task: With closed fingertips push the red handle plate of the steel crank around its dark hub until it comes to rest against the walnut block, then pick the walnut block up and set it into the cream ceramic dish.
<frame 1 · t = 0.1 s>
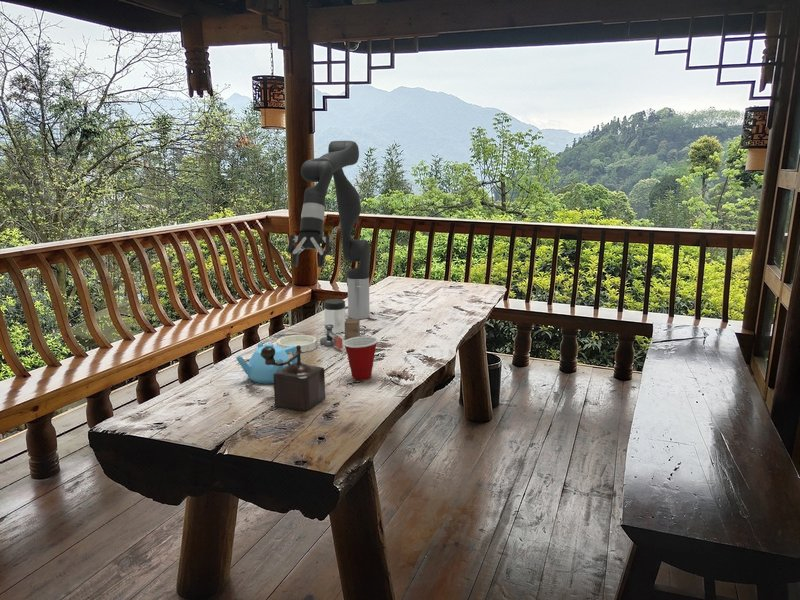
hand: (307, 266, 196), 31 cm above the table, tool tilted 20°, fingers open, 8 cm apart
coffee grinder: (294, 406, 163), on the table
crank: (335, 340, 213), point 3 cm above the table, hinge at 0.0°
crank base: (329, 343, 219), on the table
dish: (297, 347, 215), on the table
teapot: (269, 378, 185), on the table
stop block: (352, 338, 225), on the table
jar: (335, 331, 236), on the table
plastic cup: (361, 377, 184), on the table
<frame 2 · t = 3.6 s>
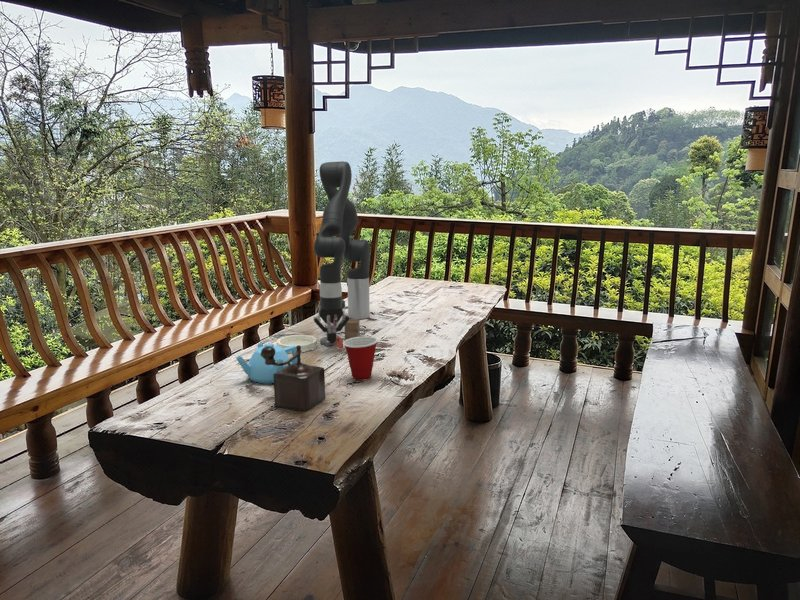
hand: (331, 342, 210), 3 cm above the table, tool pointing down, fingers closed
crank: (336, 340, 213), point 3 cm above the table, hinge at 1.4°, touching gripper
everything else where it was.
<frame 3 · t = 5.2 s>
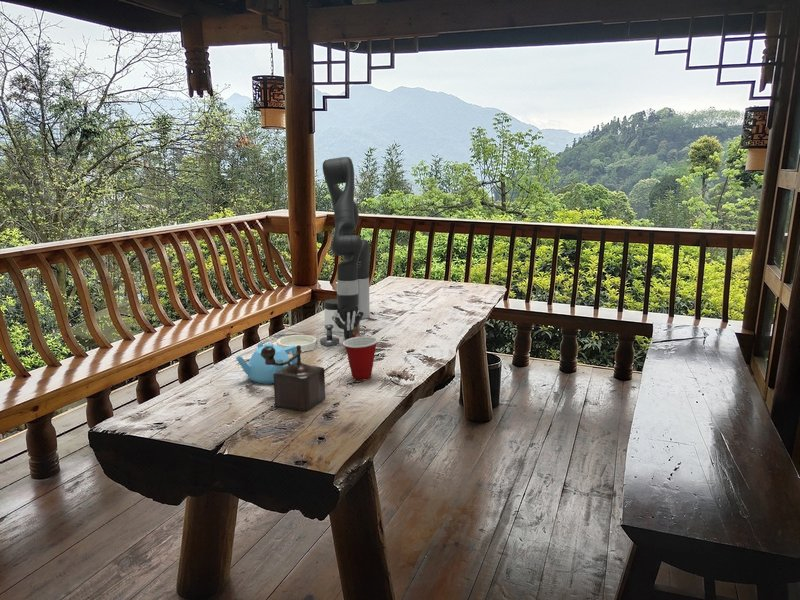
hand: (348, 339, 213), 3 cm above the table, tool pointing down, fingers closed
crank: (344, 337, 216), point 3 cm above the table, hinge at 42.1°, touching gripper
everything else where it was.
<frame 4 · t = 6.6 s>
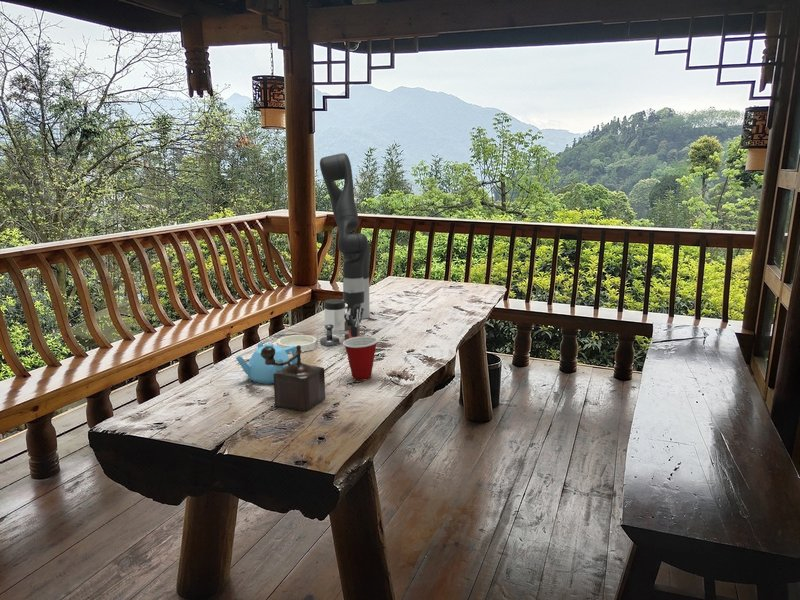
hand: (354, 336, 217), 3 cm above the table, tool pointing down, fingers closed
crank: (346, 335, 219), point 3 cm above the table, hinge at 69.6°, touching gripper
everything else where it was.
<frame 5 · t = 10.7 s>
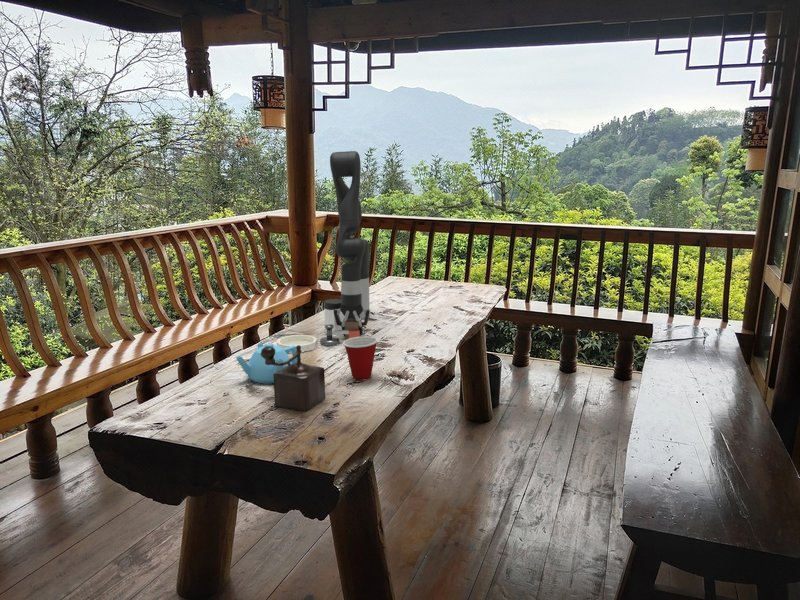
hand: (352, 335, 225), 1 cm above the table, tool pointing down, fingers closed on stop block, 5 cm apart
crank: (346, 335, 219), point 3 cm above the table, hinge at 70.4°
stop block: (352, 338, 225), on the table, touching gripper
everything else where it was.
when the fingers open (3 cm above the table, at t = 15.9 s): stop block drops 1 cm, resting on dish.
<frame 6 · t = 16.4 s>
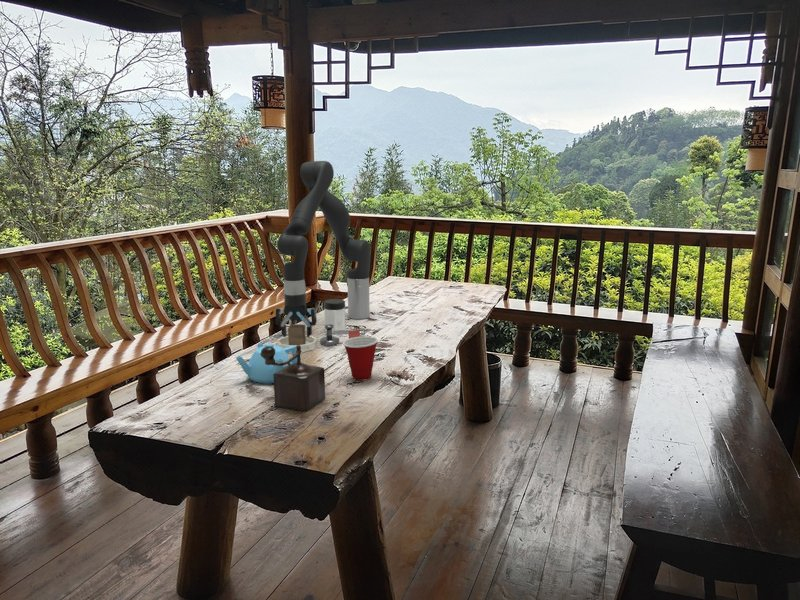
hand: (296, 336, 214), 4 cm above the table, tool pointing down, fingers open, 8 cm apart
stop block: (297, 345, 215), point 1 cm above the table, touching dish
everything else where it was.
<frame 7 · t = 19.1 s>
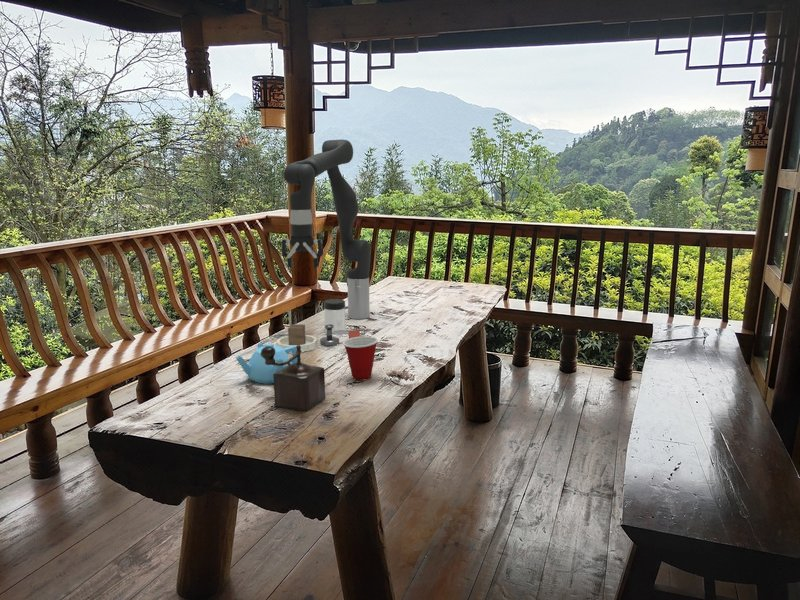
hand: (303, 268, 212), 28 cm above the table, tool pointing down, fingers open, 8 cm apart
nothing on the table moved.
at the end: crank at +70° (first picture: +0°); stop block inside the target area on the dish (0.1 cm from its centre), point 0.8 cm above the dish's base; the gripper is holding nothing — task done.
